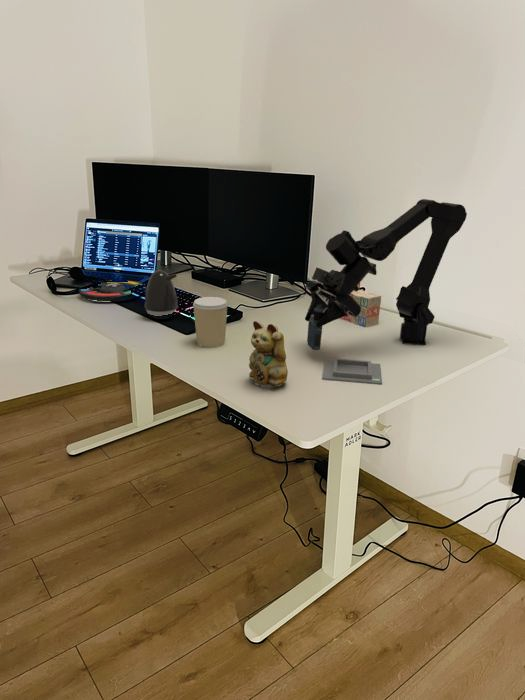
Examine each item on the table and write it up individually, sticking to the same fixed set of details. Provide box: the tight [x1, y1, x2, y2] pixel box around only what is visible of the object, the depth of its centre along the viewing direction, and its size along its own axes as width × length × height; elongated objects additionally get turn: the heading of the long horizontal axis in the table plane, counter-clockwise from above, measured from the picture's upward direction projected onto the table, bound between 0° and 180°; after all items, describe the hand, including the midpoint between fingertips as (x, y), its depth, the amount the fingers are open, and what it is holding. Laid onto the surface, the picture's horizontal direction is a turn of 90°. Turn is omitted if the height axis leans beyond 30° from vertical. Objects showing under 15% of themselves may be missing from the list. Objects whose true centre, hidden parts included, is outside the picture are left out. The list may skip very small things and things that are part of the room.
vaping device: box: [306, 305, 324, 351], centre depth 140 cm, size 3×5×12 cm, turn 15°
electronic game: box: [78, 280, 144, 301], centre depth 195 cm, size 23×23×5 cm
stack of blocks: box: [321, 282, 382, 328], centre depth 174 cm, size 21×6×12 cm, turn 37°
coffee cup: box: [192, 296, 228, 348], centre depth 149 cm, size 9×9×12 cm
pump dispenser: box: [144, 269, 179, 316], centre depth 169 cm, size 10×10×15 cm
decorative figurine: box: [248, 320, 289, 390], centre depth 125 cm, size 10×8×15 cm
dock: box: [321, 357, 383, 385], centre depth 133 cm, size 14×12×2 cm
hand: (311, 323), depth 139 cm, fingers closed on vaping device, 5 cm apart
